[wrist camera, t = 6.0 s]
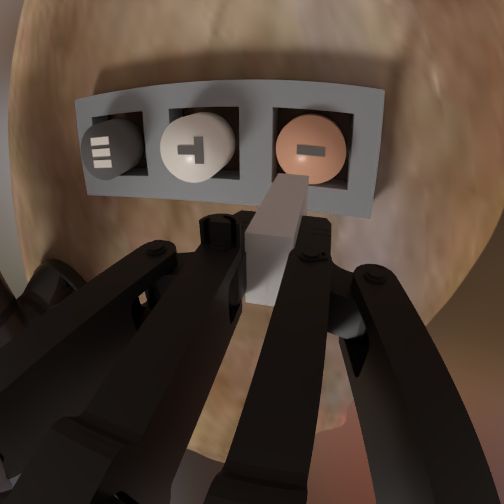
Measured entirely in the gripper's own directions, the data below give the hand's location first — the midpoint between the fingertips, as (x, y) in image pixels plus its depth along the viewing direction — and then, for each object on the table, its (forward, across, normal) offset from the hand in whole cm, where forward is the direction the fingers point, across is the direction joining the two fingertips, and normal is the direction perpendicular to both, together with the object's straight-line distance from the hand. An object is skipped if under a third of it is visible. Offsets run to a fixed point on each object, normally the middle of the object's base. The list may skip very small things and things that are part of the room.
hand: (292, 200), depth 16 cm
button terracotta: (+16, 0, 0) cm, 16 cm away
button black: (+14, -20, 0) cm, 24 cm away
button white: (+14, -10, 0) cm, 17 cm away
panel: (+16, -10, 0) cm, 19 cm away
